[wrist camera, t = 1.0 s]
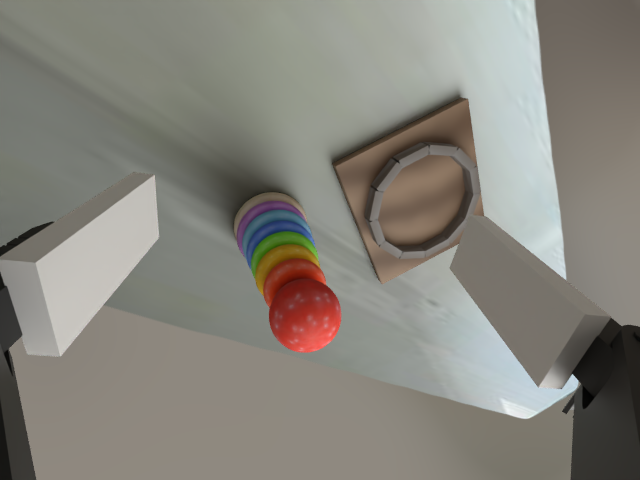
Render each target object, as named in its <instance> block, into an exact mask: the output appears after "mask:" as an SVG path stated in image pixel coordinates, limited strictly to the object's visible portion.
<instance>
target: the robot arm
mask: <svg viewBox="0 0 640 480" xmlns="http://www.w3.org/2000/svg"><path fill="white" fill-rule="evenodd" d="M158 238H159V230H158V216H157V202H156V188H155V175H153V174H145V173H137V172H133V173H132V174H130V175H129V176H127V177H125V178H124V179H122V180H121V181H119V182H117V183H116V184H114V185H113V186H111V187H110V188H108V189H106V190H105V191H103V192H102V193H100V194H98V195H97V196H95V197H94V198H92V199H91V200H89V201H87V202H86V203H84V204H83V205H81V206H79V207H78V208H76V209H75V210H73V211H72V212H70V213H68V214H67V215H65V216H64V217H62V218H60V219H59V220H57V221H56V222H49V223H46V224H43V225H40V226H37V227H34V228H32V229H30V230H28V231H27V232H25V233H23V234H22V235H20V236H18V238H15V239H13V240H12V241H10V242H8V243H7V245H6V246H5V245H3V246H2V247H0V480H36V476H35V471H34V466H33V461H32V456H31V451H30V446H29V441H28V436H27V431H26V426H25V421H24V416H23V411H22V406H21V401H20V396H19V391H18V386H17V381H16V376H15V371H14V366H13V361H12V357H11V354H10V351H9V348H10V347H11V346H12V345H13V344H14V343H15V342H16V341H17V340H18V339H19V338H20V337H22V340H23V343H24V346H25V349H26V352H27V354H28V355H43V356H44V355H45V356H59V357H60V356H61V355H62V354H63V353H64V352H65V350H66V349H67V348H68V347H69V346H70V344H71V343H72V342H73V340H74V339H75V338H76V337H77V336H78V335H79V334H80V332H81V331H82V330H83V329H84V327H85V326H86V325H87V324H88V323H89V321H90V320H91V319H92V318H93V317H94V315H95V314H96V313H97V312H98V311H99V309H100V308H101V307H102V306H103V305H104V303H105V302H106V301H107V300H108V299H109V297H110V296H111V295H112V294H113V292H114V291H115V290H116V289H117V288H118V286H119V285H120V284H121V283H122V282H123V280H124V279H125V278H126V277H127V276H128V274H129V273H130V272H131V271H132V270H133V268H134V267H135V266H136V265H137V263H138V262H139V261H140V260H141V259H142V257H143V256H144V255H145V254H146V253H147V251H148V250H149V249H150V248H151V247H152V245H153V244H154V243H155V242H156V241H157V239H158ZM450 269H451V271H452V272H453V273H454V275H455V276H456V277H457V279H458V280H459V282H460V283H461V284H462V286H463V287H464V288H465V290H466V291H467V292H468V294H469V295H470V296H471V298H472V299H473V300H474V302H475V303H476V304H477V306H478V307H479V308H480V310H481V311H482V312H483V314H484V315H485V316H486V318H487V319H488V320H489V322H490V323H491V325H492V326H493V327H494V329H495V330H496V331H497V333H498V334H499V335H500V337H501V338H502V339H503V341H504V342H505V343H506V345H507V346H508V347H509V349H510V350H511V351H512V353H513V354H514V355H515V357H516V358H517V359H518V361H519V362H520V363H521V365H522V366H523V368H524V369H525V370H526V372H527V373H528V374H529V376H530V377H531V378H532V380H533V381H534V382H535V384H536V385H537V386H538V388H553V389H562V388H563V387H564V385H565V384H566V382H567V381H568V379H569V378H570V376H571V375H572V374H573V375H574V376H575V377H576V378H577V379H578V380H579V382H580V383H581V385H580V386H579V388H578V389H577V390H576V392H575V393H574V395H573V396H572V398H571V399H570V400H569V402H568V403H567V404H566V406H565V407H564V409H563V411H562V412H564V413H566V414H567V412H568V411H569V410H573V409H574V416H573V418H574V420H573V441H572V463H571V480H640V327H638V326H633V325H624V326H621V325H619V324H618V323H617V322H616V321H614V320H613V319H612V318H611V316H610V315H608V314H607V313H606V312H605V311H604V310H602V309H601V308H600V307H599V306H597V305H596V304H595V303H594V302H592V301H591V300H590V299H588V298H587V297H586V296H585V295H584V294H582V293H581V292H580V291H578V290H577V289H576V288H575V287H574V286H572V285H571V284H570V283H569V282H567V281H566V280H565V279H564V278H562V277H561V276H560V275H559V274H557V273H556V272H555V271H554V270H552V269H551V268H550V267H549V266H547V265H546V264H545V263H544V262H542V261H541V260H540V259H539V258H537V257H536V256H535V255H534V254H532V253H531V252H530V251H529V250H527V249H526V248H525V247H524V246H522V245H521V244H520V243H519V242H517V241H516V240H515V239H514V238H512V237H511V236H510V235H509V234H507V233H506V232H505V231H504V230H502V229H501V228H500V227H499V226H497V225H496V224H495V223H494V222H492V221H491V220H490V219H489V218H487V217H485V216H477V215H470V216H469V219H468V221H467V224H466V226H465V229H464V232H463V234H462V237H461V240H460V242H459V245H458V248H457V250H456V253H455V255H454V258H453V261H452V263H451V266H450Z"/></svg>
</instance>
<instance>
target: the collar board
mask: <svg viewBox="0 0 640 480" xmlns="http://www.w3.org/2000/svg"><path fill="white" fill-rule="evenodd" d="M332 165H333V168H334V170H335V173H336V175H337V178H338V180H339V183H340V185H341V188H342V190H343V193H344V195H345V198H346V200H347V203H348V205H349V208H350V210H351V212H352V215H353V217H354V220H355V222H356V225H357V227H358V230H359V232H360V235H361V237H362V240H363V242H364V245H365V247H366V250H367V252H368V255H369V257H370V260H371V262H372V265H373V267H374V270H375V272H376V275H377V277H378V280H379V281H380V282H381V284H384V283H386V282H387V281H389V280H391V279H393V278H395V277H397V276H399V275H401V274H403V273H404V272H406V271H408V270H410V269H412V268H414V267H416V266H418V265H420V264H421V263H423V262H425V261H427V260H429V259H431V258H433V257H435V256H437V255H438V254H440V253H442V252H444V251H446V250H448V249H450V248H452V247H454V246H455V245H457V244H459V242H460V240H461V237H462V234H463V232H464V229H465V226H466V224H467V221H468V219H469V216H470V215H477V216H484V212H483V205H482V198H481V189H480V182H479V175H478V167H477V161H476V154H475V146H474V139H473V132H472V124H471V117H470V110H469V102H468V99H466V98H459V99H457V100H455V101H453V102H452V103H450V104H448V105H446V106H444V107H442V108H440V109H438V110H436V111H434V112H432V113H430V114H428V115H426V116H424V117H422V118H420V119H418V120H416V121H414V122H412V123H410V124H408V125H406V126H405V127H403V128H401V129H399V130H397V131H395V132H393V133H391V134H389V135H387V136H385V137H383V138H381V139H379V140H377V141H375V142H373V143H371V144H369V145H367V146H365V147H363V148H361V149H360V150H358V151H356V152H354V153H352V154H350V155H348V156H346V157H344V158H342V159H340V160H338V161H336V162H334V163H332Z"/></svg>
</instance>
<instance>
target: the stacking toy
mask: <svg viewBox="0 0 640 480" xmlns="http://www.w3.org/2000/svg"><path fill="white" fill-rule="evenodd" d="M234 234H235V238H236V240H237V243H238V247H239V249H240V251H241V253H242V254H243V256H244V257H245V258H246V260H247V262H248V265H249V267H250V269H251V271H252V273H253V276H254V278H255V280H256V285H257V287H258V289H259V291H260V292H261V294H262V295H263V296H264V299H265V301H266V303H267V305H268V306H269V308H270V310H269V321H270V326H271V329H272V332H273V334H274V336H275V337H276V338H277V340H278V341H279V342H280V343H281V344H282V345H284V346H285V347H287V348H288V349H291V350H293V351H297V352H312V351H316V350H319V349H321V348H323V347H324V346H326V345H327V344H328V343H329V342H330V341H331V340H332V339H333V338H334V337H335V335H336V333H337V331H338V329H339V327H340V322H341V308H340V304H339V301H338V299H337V297H336V295H335V294H334V293H333V291H332V290H331V289H330V288H329V287H328V286H326V280H325V276H324V274H323V272H322V271H321V269H320V264H319V261H318V254H317V251H316V248H315V243H314V240H313V238H312V233H311V230H310V228H309V226H308V224H307V218H306V215H305V212H304V210H303V208H302V207H301V205H300V204H299V203H298V202H297V201H296V200H295V199H293V198H292V197H290V196H288V195H285V194H282V193H277V192H268V193H263V194H259V195H257V196H255V197H253V198H251V199H250V200H248V201H247V202H246V203H245V204H244V205H243V206H242V207H241V208H240V210H239V211H238V213H237V215H236V218H235V222H234Z"/></svg>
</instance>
